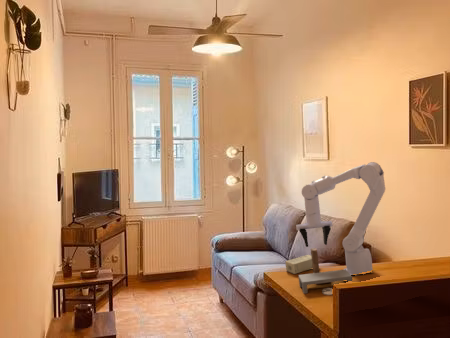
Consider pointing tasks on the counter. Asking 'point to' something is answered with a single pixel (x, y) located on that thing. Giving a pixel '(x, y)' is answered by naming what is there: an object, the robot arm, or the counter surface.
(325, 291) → the steel token
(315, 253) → the brown piece
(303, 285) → the u-shaped block
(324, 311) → the counter surface
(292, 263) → the skincare box
